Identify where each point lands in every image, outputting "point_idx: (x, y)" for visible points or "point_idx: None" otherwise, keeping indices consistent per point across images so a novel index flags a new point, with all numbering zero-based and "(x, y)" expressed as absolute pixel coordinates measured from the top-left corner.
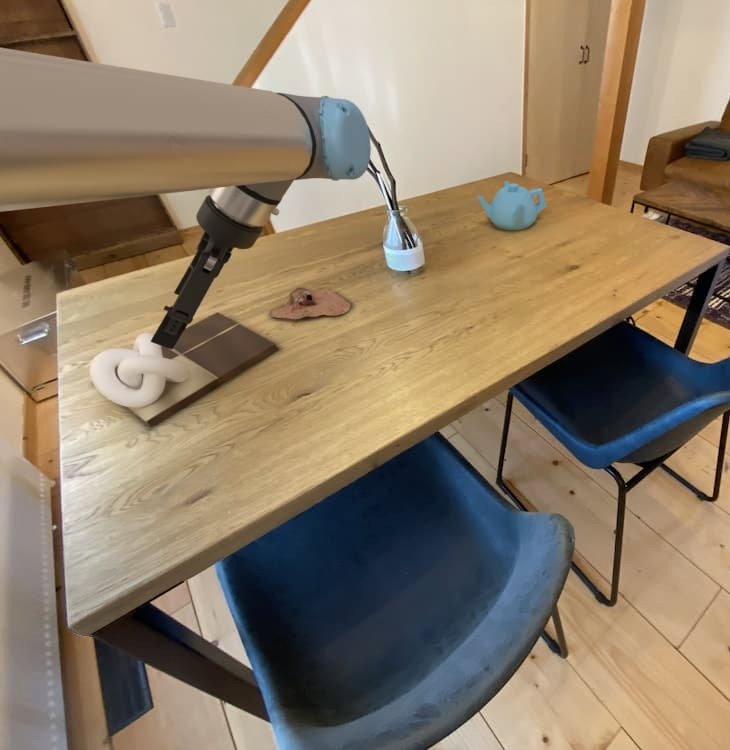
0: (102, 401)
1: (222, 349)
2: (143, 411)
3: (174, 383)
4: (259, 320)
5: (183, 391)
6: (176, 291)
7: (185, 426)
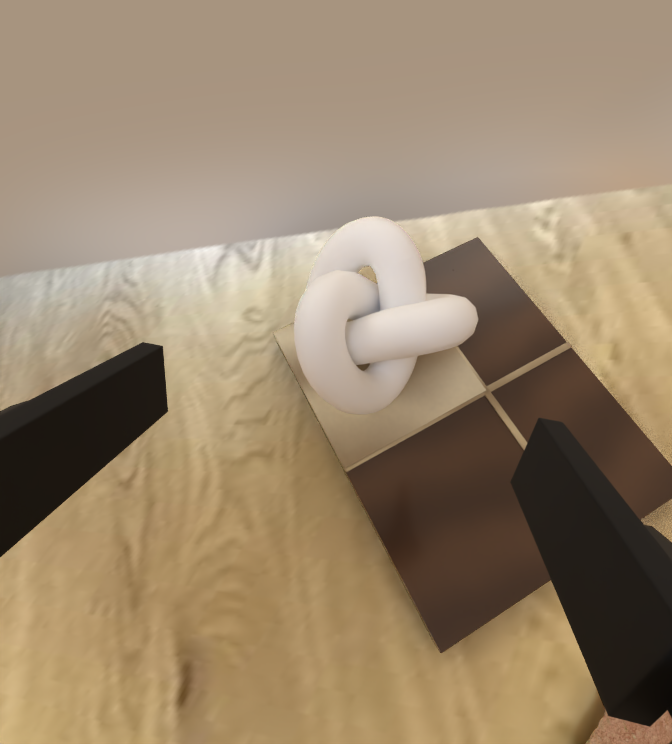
0: None
1: (472, 489)
2: None
3: None
4: None
5: None
6: (543, 431)
7: (243, 397)
